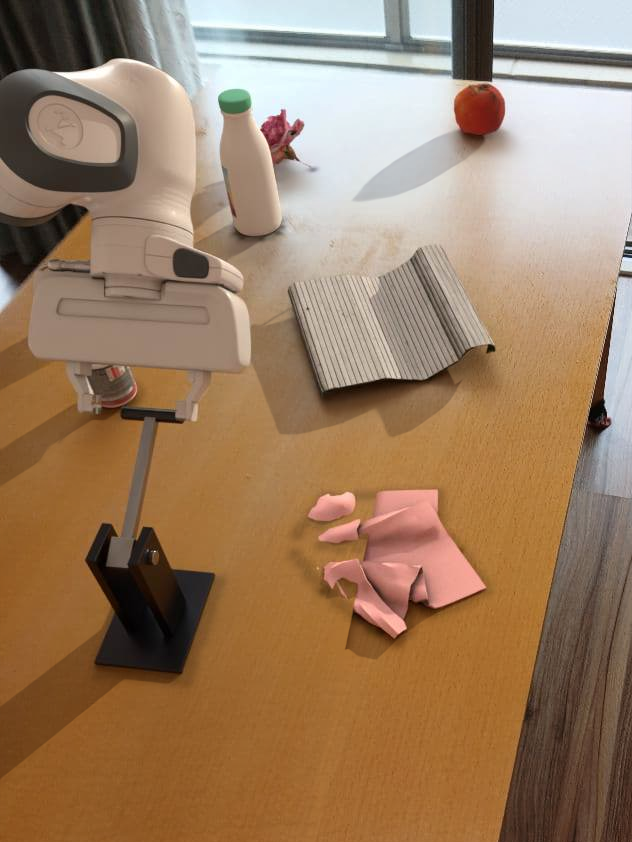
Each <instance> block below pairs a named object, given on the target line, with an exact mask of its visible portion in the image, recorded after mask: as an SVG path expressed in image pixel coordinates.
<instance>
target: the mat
mask: <svg viewBox="0 0 632 842" xmlns="http://www.w3.org/2000/svg"><path fill="white" fill-rule="evenodd" d="M287 294H288V297H289V300H290V304H291V307H292V310H293V312H294V316H295V319H296V323H297V325H298V329H299V332H300V335H301V338H302V342H303V345H304V348H305V351H306V354H307V357H308V360H309V364H310V366H311V369H312V373H313V377H314V379H315V384H316V386H317V389H318V391H319V395H320V397H324V396H326V393H329V392H333V391H337V390H342V389H347V388H354V387H356V386H361V385H368V384H372V383H377V382H384V381H400V380H401V381H413V382H414V381H415V382H419V381H426V380H428V379H430V378H433V377H435V376H436V375H438V374H440V373H442V372H443V371H445V370H447V369H449V368H450V367H452V366H454V365H456V364H457V363H458V362H459V361H461V359H462V358H463V357H464V356H465V355H466V354H467V353H468V352H469V351H470V350H473V349H476V348H477V347H482V346H487V348H486V351H485V355H488V354H490V353H495V352H496V351H497V349H496V345H495V343H494V341H493V339H492V338H491V336H490V334H489V332H488V329H487V328H486V326H485V324H484V323H483V320H482V319H481V317H480V314H479V312H478V311H477V309H476V308H475V306H474V303H473V302H472V300H471V297H470V296H469V294H468V292H467V290H466V289H465V287H464V284H463V283H462V281H461V279H460V277H459V276H458V273H457V272H456V270H455V267H454V266H453V264H452V261H451V260H450V258H449V256H448V254H447V252H446V250H445V248H444V246H443V245H441V244H437V243H435V244H427V245H424V246H420V247H418V248H417V249H416V250H415V251H414V253H413V255H412V256H411V257H410V258H409V259H408V260H407V261H405V262H404V263H402V264H400V265H399V266H398V267H396V268H394V269H391V270H389V271H388V272H387V273H385V274H383V275H381V276H378V277H374V276H373V277H372V276H364V275H353V274H340V275H333V276H328V277H321V278H315V279H308V280H303V281H297V282H292V284H290V285H289V286H288V287H287Z"/></svg>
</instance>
